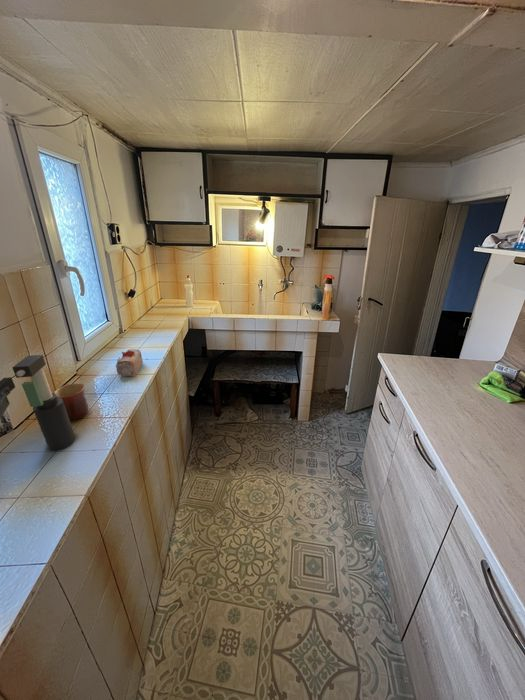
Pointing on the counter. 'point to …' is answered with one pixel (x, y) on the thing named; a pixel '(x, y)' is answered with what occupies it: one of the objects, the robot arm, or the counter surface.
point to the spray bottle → (47, 405)
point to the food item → (129, 363)
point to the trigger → (32, 393)
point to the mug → (73, 400)
